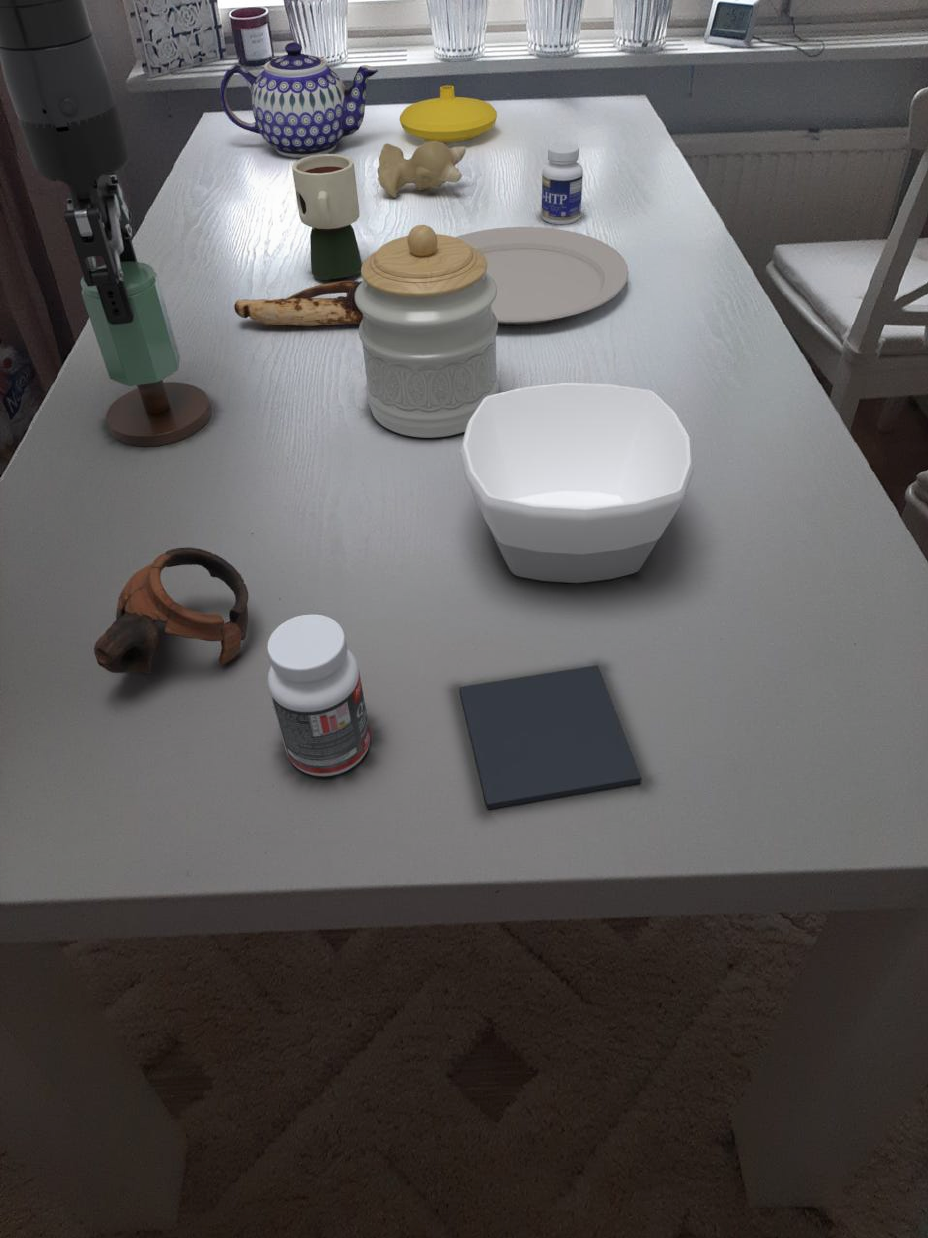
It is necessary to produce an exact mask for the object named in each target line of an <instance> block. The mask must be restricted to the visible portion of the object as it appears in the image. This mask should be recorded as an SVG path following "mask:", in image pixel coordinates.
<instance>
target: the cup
mask: <svg viewBox="0 0 928 1238" xmlns="http://www.w3.org/2000/svg"><path fill="white" fill-rule="evenodd" d="M120 265H121V270H122V272H123V280H124V283H125V287H126V290H127V293H128V296H129V300H130V303H131V306H132V309H133V313H134V318H133V321H132V322H131V323H127V324H118V325H112V324H110V323H109V322H108V321H107V318H106V315H105V312H104V309H103V305H102V302H101V299H100V296H99V293H98V290H97V287H96V286H91V287H88V286H87V284H86V282H85V281H84V275H83V276H82V277H81V280H80V286H81V297H82V300H83V303H84V306H85V309H86V312H87V315H88V318H89V321H90V324H91V326H92V329H93V330H92V331H93V332H94V336H95V338H96V341H97V344H98V348H99V350H100V353H101V356H102V357H101V358H102V359H103V362H104V365H105V368H106V371H107V374H108V377H109V379H110V380H112V381H115V382H117V383H119V384H122V385H125V386H126V387H132V386H137V385H142V384H150V383H157V382H159V381H161V380H162V381H163V380H164V379H166V378H168V377H170V376H171V375H173V374H174V373H176V372H178V371H179V368H180V367H179V366H180V358H181V357H180V353H179V350H178V346H177V342H176V338H175V335H174V332H173V328H172V325H171V321H170V316H169V313H168V310H167V306H166V303H165V298H164V295H163V291H162V288H161V285H160V281H159V276H158V273H157V272H155V270H154V268H153V267H152V265H149V264H148V263H145V262H141V261H138V262H120ZM100 268H107V267H106V264H104V265H101V266H97V269H100Z"/></svg>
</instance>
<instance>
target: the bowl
mask: <svg viewBox="0 0 928 1238" xmlns="http://www.w3.org/2000/svg"><path fill="white" fill-rule="evenodd" d="M459 456H460V460H461V464H462V468H463V473H464V476H465V480H466V482H467V485H468V486H469V489H470V491H471V493H472V494H473V497H474V499H475V502H476V504H477V506H478V509H479V510H480V512H481V515H482V517H483V519H484V521H485V522H486V524H487V527H488V528H489V530H490V532H491V534H492V536H493V539H494V541H495V544H496V545H497V548H498V549H499V552H500V554H501V556H502V558H503V559H504V561H505V563H506V566H507V567H508V569H509V571H510V573H512V574H513V575H514V576H516V577H519V578H524V579H531V580H535V581H542V582H554V583H569V584H582V583H591V582H598V581H607V580H612V579H613V580H614V579H617V578H621V577H624V576H629V575H632V574H636V573H638V572H639V571H640V570H641V568H642V567H643V565H644V563H645V562H646V561H647V559H648V557H649V555H650V554H651V552H652V551H653V549H654V548H655V546H656V544H657V542H658V541H659V540H660V538H661V537H662V535H663V534H664V532H665V531H666V529H667V527H668V526H669V524H670V523H671V521H672V519H673V518H674V516H675V515H676V513H677V512H678V510H679V508H680V506H681V504H682V503H683V502H684V500H685V497H686V496H687V495H686V494H687V493H688V489H689V486H690V484H691V480H692V478H693V475H694V459H693V443H692V439H691V437H690V436H689V434H688V432H687V430H686V428H685V427H684V425H683V423H682V422H681V419H680V418H679V416H678V415H677V413H676V412H675V411H674V410H673V409H672V408H671V407H670V406H669V405H668V404H667V403H666V402H665V401H664V400H663V399H662V398H661V397H660V396H659V395H657V394H656V392H654V391H653V390H649V389H644V388H639V387H638V388H636V387H632V386H624V385H619V384H613V383H590V382H589V383H586V382H560V383H550V384H541V385H533V386H531V385H530V386H523V387H519V388H515V389H511V390H507V391H503V392H498V394H494V395H490V396H487V397H485V398H484V399H483V401H482V402H481V404H480V405H479V407H478V408H477V410H476V411H475V412H474V414H473V415H472V417H471V418H470V420H469V422H468V423H467V427H466V431H465V432H464V435H463V438H462V442H461V446H460V451H459Z"/></svg>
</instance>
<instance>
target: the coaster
mask: <svg viewBox="0 0 928 1238" xmlns="http://www.w3.org/2000/svg"><path fill="white" fill-rule="evenodd" d="M459 695H460V699H461V704H462V708H463V712H464V717H465V721H466V726H467V729H468V734H469V738H470V743H471V748H472V751H473V755H474V759H475V764H476V765H475V766H476V769H477V773H478V778H479V781H480V785H481V790H482V793H483V799H484V802H485V803H484V804H485V807H486V810H492V809H497V808H504V807H508V806H515V805H520V804H526V803H527V804H528V803H532V802H533V803H534V802H537V801H538V802H539V801H543V800H549V799H555V798H561V797H566V796H572V795H579V794H585V793H590V792H596V791H601V790H602V791H603V790H608V789H614V788H620V787H624V786H625V787H627V786H630V785H636V784H641V781H642V776H641V774H640V770H639V768H638V765H637V763H636V760H635V758H634V755H633V752H632V750H631V747H630V745H629V742H628V740H627V738H626V735H625V732H624V729H623V726H622V724H621V722H620V719H619V716H618V714H617V711H616V708H615V706H614V704H613V701H612V699H611V696H610V693H609V690H608V688H607V686H606V683H605V679H604V678H603V675H602V673H601V670H600V667H599V665H590V666H584V667H578V668H572V669H565V670H559V671H553V672H552V671H551V672H546V673H541V674H540V673H539V674H534V675H529V676H521V677H514V678H509V679H508V678H507V679H501V680H497V681H496V680H494V681H490V682H482V683H477V684H470V685H465V686H459Z"/></svg>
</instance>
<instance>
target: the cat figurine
mask: <svg viewBox="0 0 928 1238" xmlns="http://www.w3.org/2000/svg"><path fill="white" fill-rule="evenodd" d="M466 151H467V149H466V147H465V146H464V145H462V146H453V147H451V148H450V147H448V146H447V145H446V143H442V142H439V141H426V142H424V143H422V144H421V145H419V146H418V147H417V148H415V150H414V152H413V153H412V155H411V157H410V158H409V159H406V158H405V156H404V152H403V150H402V149H401V148H400V147H398V146H395V145H393V144H391V143H384V144H383V146H382V149H381V151H380V154H379V156H378V167H377V169H376V170H377V175H378V177H377V181H378V184H379V186H380V187H381V188H383V190H385V191H386V192H387V193H388V194H389V195H391V196H392V197H393V198H394V199H396V198H397V196H398V191H399V190H400V189H402V188H403V187H405V186H406V185H408V184H411V185H412V184H413V185H414V186H415V187H416V188H417V189H418V190H419V191H424V190H428V191H430V190H434V189H436V188H438V187H441V186H442V185H444V184H445V183H447V182H448V183H457V182H459V181H460V180H462V177H463V176H462V175H463V174H462V172H461V171H460V170H459V168H457V167H456V165H457V164H459V163H460V162H461V161H462V160H463V158H464V157H465V154H466Z"/></svg>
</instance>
